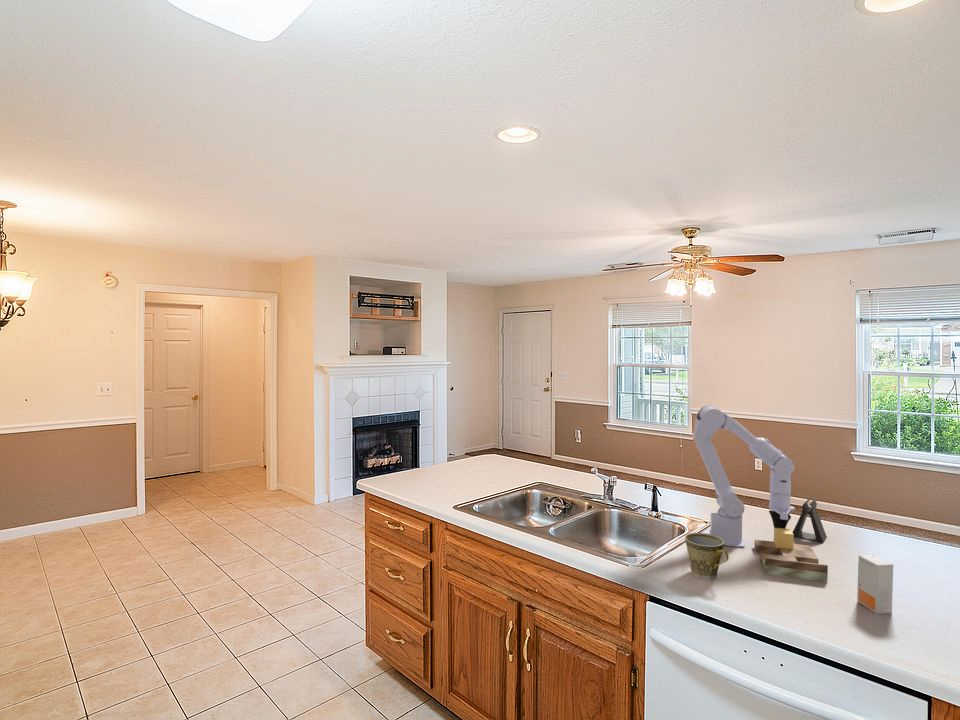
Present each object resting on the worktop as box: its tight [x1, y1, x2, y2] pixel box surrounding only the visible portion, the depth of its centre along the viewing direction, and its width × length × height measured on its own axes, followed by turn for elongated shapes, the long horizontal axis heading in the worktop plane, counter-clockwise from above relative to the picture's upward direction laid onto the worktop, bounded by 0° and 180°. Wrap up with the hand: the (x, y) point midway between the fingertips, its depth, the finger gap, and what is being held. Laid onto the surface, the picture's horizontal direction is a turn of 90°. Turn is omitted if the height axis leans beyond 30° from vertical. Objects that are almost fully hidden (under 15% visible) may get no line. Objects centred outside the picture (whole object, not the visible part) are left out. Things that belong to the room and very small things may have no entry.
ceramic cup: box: [684, 532, 729, 581], centre depth 147 cm, size 13×10×10 cm
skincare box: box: [856, 554, 894, 615], centre depth 130 cm, size 6×4×12 cm
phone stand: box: [792, 498, 828, 544], centre depth 176 cm, size 9×6×12 cm, turn 47°
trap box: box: [754, 539, 829, 583], centre depth 156 cm, size 15×20×4 cm
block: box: [773, 527, 795, 549], centre depth 163 cm, size 4×4×4 cm
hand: (779, 534), depth 169 cm, fingers closed
